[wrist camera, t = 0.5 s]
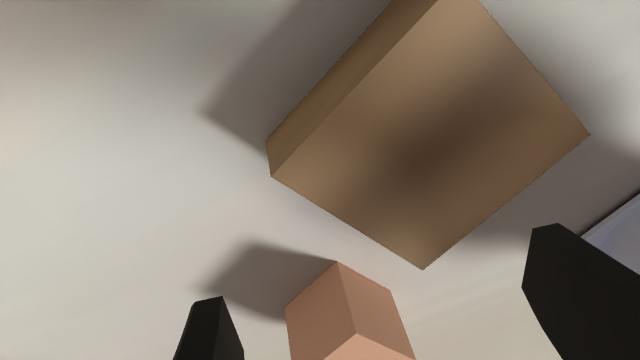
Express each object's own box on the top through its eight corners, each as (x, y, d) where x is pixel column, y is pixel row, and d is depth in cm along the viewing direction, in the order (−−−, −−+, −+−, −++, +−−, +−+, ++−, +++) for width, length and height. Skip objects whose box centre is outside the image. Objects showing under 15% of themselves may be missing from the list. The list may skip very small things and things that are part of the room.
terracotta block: (389, 289, 26) (416, 360, 23) (338, 331, 28) (356, 404, 24) (336, 260, 24) (356, 333, 21) (284, 306, 26) (294, 382, 22)
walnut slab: (548, 101, 21) (590, 134, 19) (402, 227, 24) (422, 270, 22) (424, -42, 17) (459, -23, 14) (264, 135, 20) (270, 176, 17)
